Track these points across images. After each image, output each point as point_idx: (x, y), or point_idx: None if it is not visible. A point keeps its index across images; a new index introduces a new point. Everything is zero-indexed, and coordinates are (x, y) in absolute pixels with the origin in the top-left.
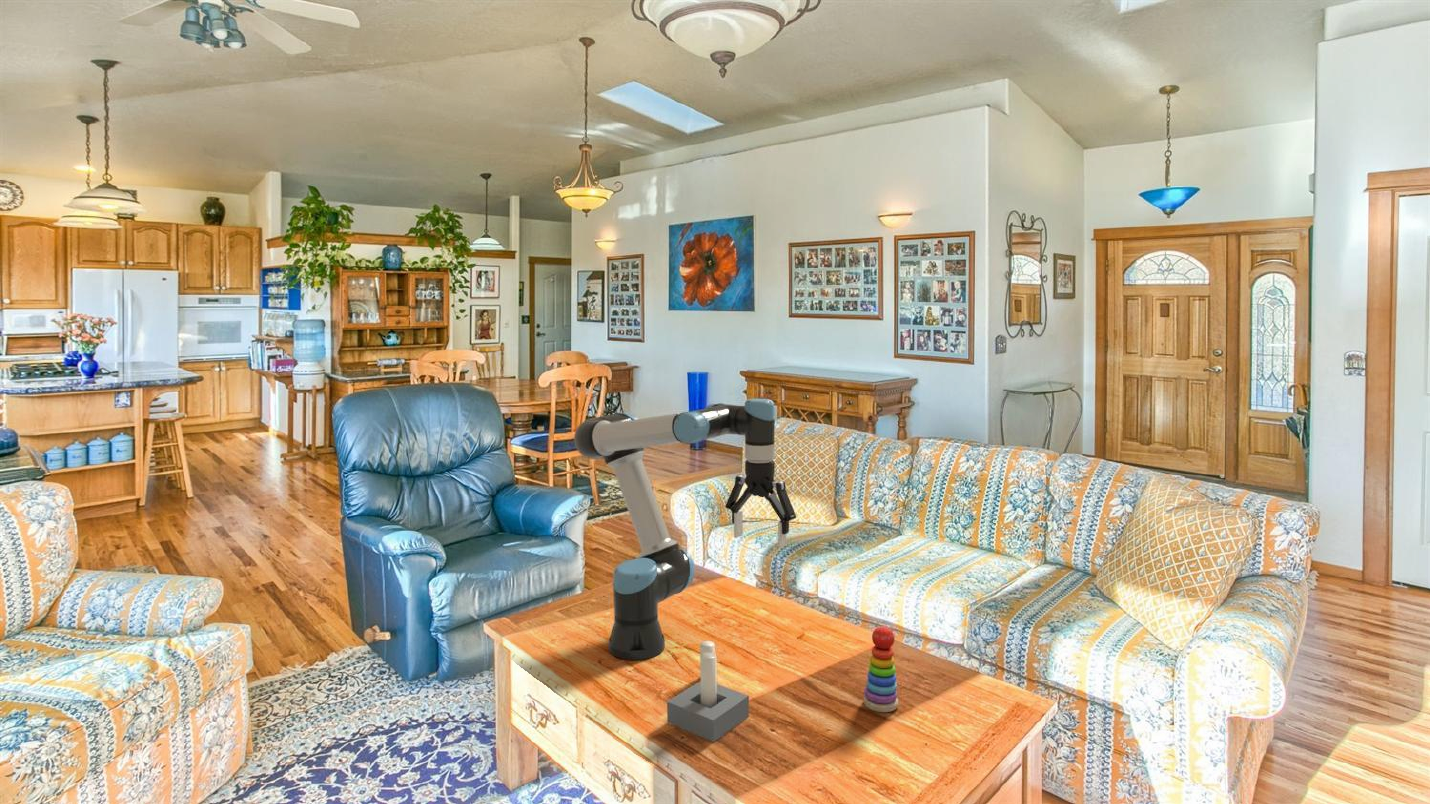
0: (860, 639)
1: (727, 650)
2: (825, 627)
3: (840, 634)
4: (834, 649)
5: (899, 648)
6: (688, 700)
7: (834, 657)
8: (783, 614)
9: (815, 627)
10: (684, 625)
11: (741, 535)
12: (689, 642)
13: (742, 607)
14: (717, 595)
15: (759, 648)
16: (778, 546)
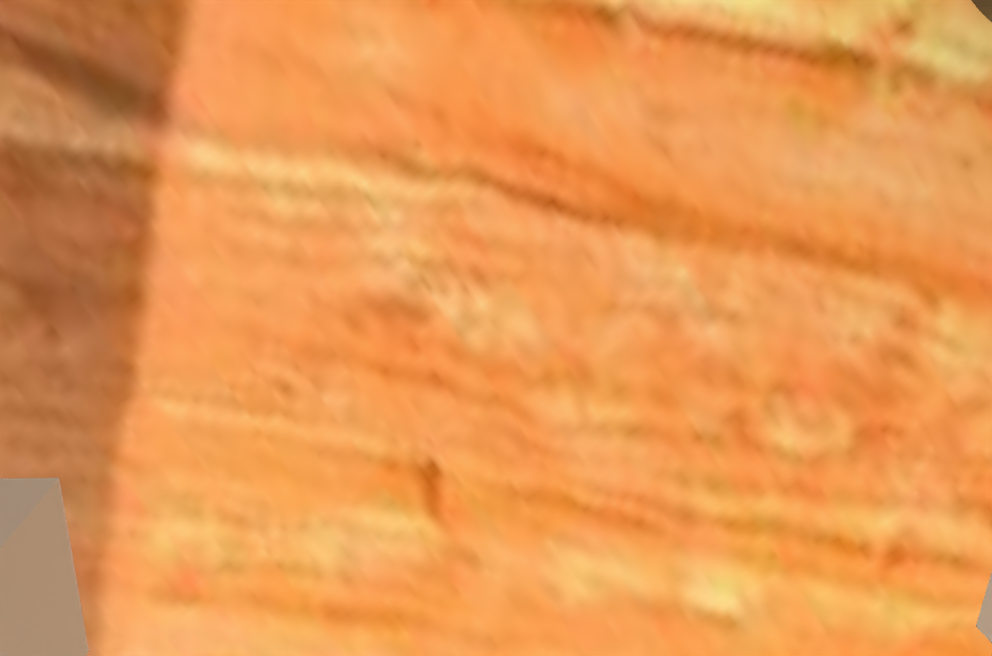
0: (193, 608)
1: (649, 156)
2: (389, 619)
3: (293, 600)
4: (225, 464)
5: None
6: None
7: (176, 397)
8: (620, 622)
9: (426, 595)
10: (984, 265)
11: (986, 602)
12: (868, 116)
13: (823, 579)
14: None
15: (524, 270)
16: (39, 483)
